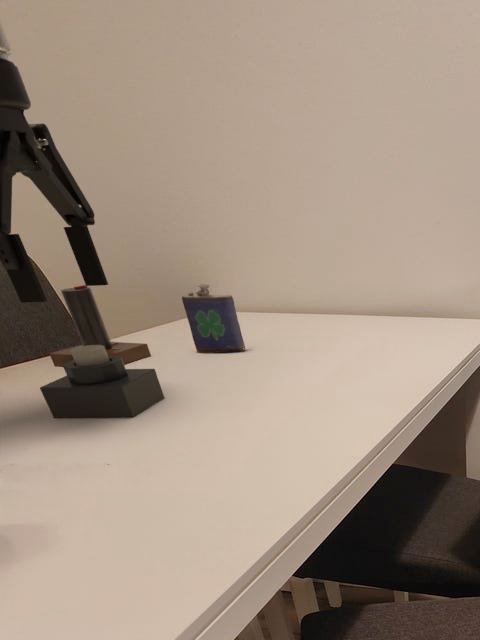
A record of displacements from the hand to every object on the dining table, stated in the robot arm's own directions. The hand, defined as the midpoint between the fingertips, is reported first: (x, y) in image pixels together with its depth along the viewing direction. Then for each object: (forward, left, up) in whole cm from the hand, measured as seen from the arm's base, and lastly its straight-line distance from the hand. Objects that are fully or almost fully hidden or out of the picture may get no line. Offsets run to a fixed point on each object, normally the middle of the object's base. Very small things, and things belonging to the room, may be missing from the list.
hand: (68, 293), depth 74 cm
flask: (+2, +33, -14) cm, 36 cm away
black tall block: (-17, +27, -12) cm, 34 cm away
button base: (0, -1, -14) cm, 14 cm away
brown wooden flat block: (-17, +27, -14) cm, 34 cm away
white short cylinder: (0, -1, -8) cm, 8 cm away
